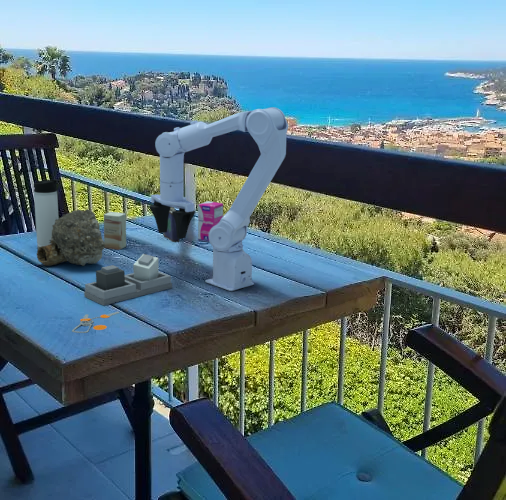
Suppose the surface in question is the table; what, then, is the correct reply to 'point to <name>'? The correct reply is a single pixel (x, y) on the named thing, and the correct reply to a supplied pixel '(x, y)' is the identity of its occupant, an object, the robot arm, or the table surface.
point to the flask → (171, 227)
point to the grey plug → (146, 268)
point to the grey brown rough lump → (73, 240)
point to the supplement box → (208, 218)
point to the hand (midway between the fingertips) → (172, 235)
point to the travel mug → (45, 210)
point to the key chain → (86, 319)
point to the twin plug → (110, 278)
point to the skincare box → (115, 230)
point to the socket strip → (127, 289)
